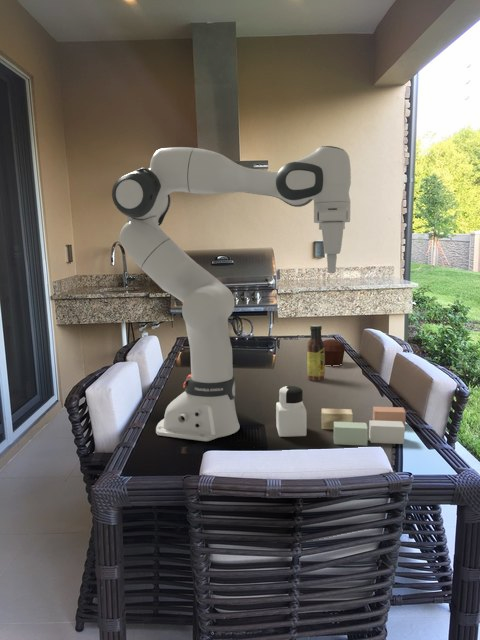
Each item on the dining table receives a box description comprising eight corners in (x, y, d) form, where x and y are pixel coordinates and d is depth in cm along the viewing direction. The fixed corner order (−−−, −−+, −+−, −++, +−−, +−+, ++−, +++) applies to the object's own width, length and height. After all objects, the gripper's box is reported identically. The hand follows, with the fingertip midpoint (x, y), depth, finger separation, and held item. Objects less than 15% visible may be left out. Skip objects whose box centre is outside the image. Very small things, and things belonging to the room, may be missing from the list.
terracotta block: (374, 427, 134) (374, 411, 133) (372, 422, 138) (373, 406, 137) (405, 428, 133) (405, 412, 132) (402, 423, 137) (403, 407, 136)
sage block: (334, 444, 123) (334, 427, 122) (333, 438, 127) (333, 421, 126) (367, 446, 122) (367, 428, 121) (365, 439, 126) (366, 422, 125)
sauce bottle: (324, 382, 178) (324, 327, 175) (306, 381, 179) (306, 327, 176) (324, 377, 184) (325, 324, 181) (307, 376, 185) (307, 324, 182)
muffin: (344, 360, 209) (344, 337, 207) (347, 367, 198) (347, 342, 196) (315, 360, 210) (316, 337, 208) (317, 367, 199) (317, 342, 197)
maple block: (321, 429, 133) (321, 413, 132) (321, 424, 137) (321, 408, 136) (352, 430, 132) (352, 414, 131) (351, 425, 136) (351, 409, 135)
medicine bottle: (302, 426, 135) (302, 383, 133) (306, 436, 128) (306, 391, 126) (276, 427, 135) (275, 384, 133) (279, 437, 128) (278, 392, 126)
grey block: (370, 443, 124) (371, 425, 123) (369, 437, 127) (369, 420, 127) (404, 444, 122) (404, 427, 122) (401, 438, 126) (401, 421, 125)
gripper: (319, 217, 133) (318, 269, 135) (318, 213, 113) (318, 274, 115) (343, 217, 132) (342, 269, 134) (347, 212, 112) (346, 274, 114)
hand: (331, 271), depth 124 cm, fingers open, 8 cm apart
